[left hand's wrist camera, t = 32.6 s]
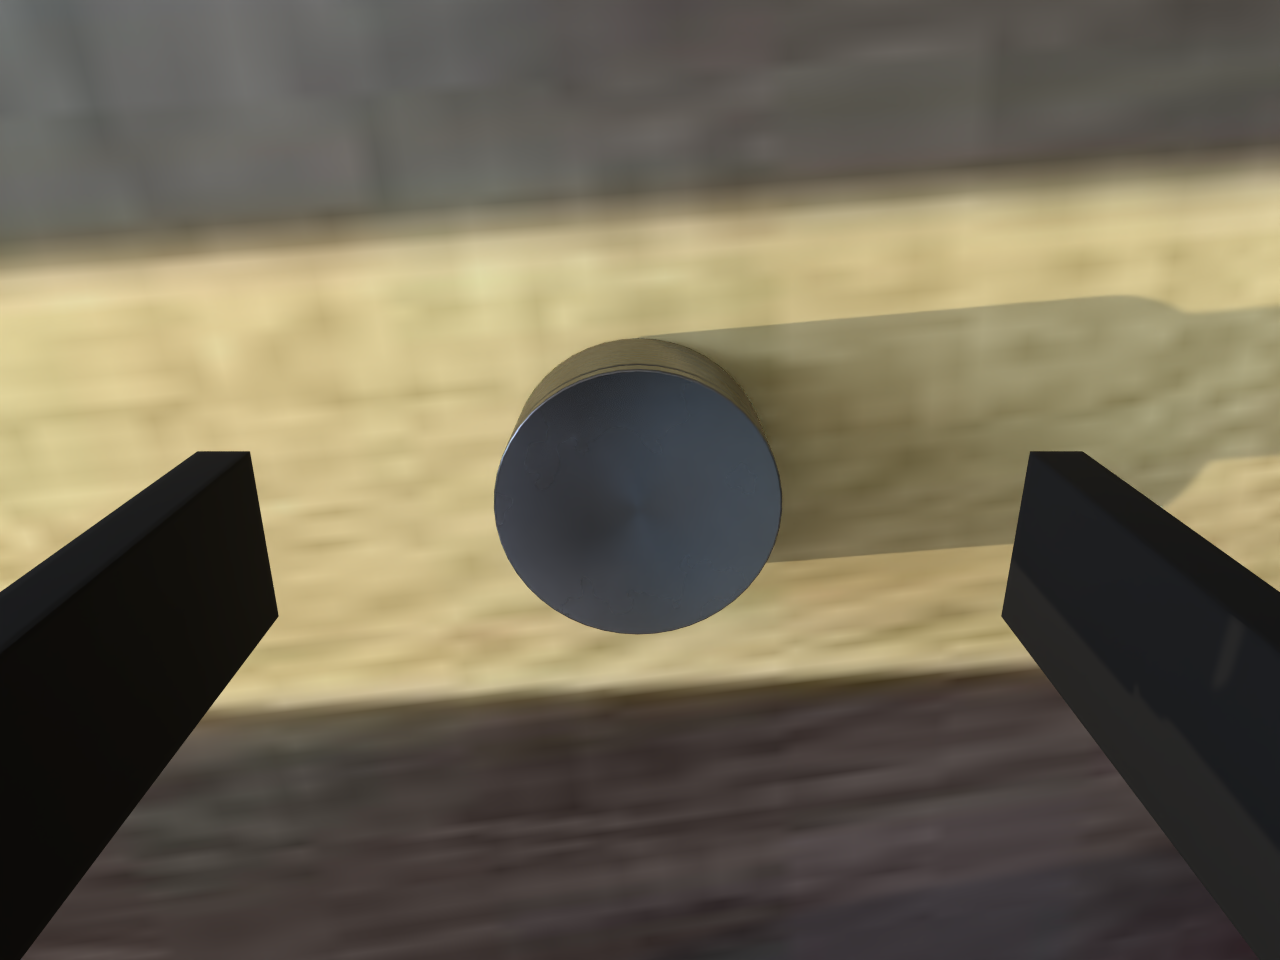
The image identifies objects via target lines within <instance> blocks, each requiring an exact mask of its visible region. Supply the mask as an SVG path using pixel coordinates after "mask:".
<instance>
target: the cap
mask: <svg viewBox="0 0 1280 960" xmlns="http://www.w3.org/2000/svg"><path fill="white" fill-rule="evenodd" d="M494 513H495V520H496V527H497V530H498V534H499V537H500V541H501V544H502V546H503V548H504V551H505V553H506V555H507V558H508V560H509V561H510V563H511V564H512V566H513V568H514V569H515V571H516V573H517V574H518V575H519V577H520V578H521V579H522V580H523V582H524V583H525V584H526V585H527V587H528V588H529V589H530V590H531V591H533V592H534V593H535V594H536V595H537V596H538V597H539V598H540V599H541V600H542V601H544V602H545V603H546V604H548V605H549V606H550V607H552V608H553V609H554V610H556V611H558V612H559V613H561V614H563V615H565V616H566V617H568V618H570V619H572V620H575V621H577V622H579V623H582V624H584V625H587V626H590V627H593V628H597V629H600V630H604V631H610V632H616V633H624V634H653V633H660V632H666V631H672V630H676V629H679V628H683V627H686V626H690V625H692V624H695V623H697V622H699V621H702V620H704V619H706V618H708V617H710V616H712V615H713V614H715V613H717V612H719V611H720V610H722V609H723V608H725V607H726V606H727V605H729V604H730V603H731V602H733V601H734V600H735V599H736V598H737V597H739V596H740V595H741V594H742V593H743V592H744V591H745V590H746V589H747V588H748V587H749V586H750V584H751V583H752V582H753V581H754V579H755V578H756V577H757V576H758V574H759V573H760V571H761V570H762V568H763V566H764V565H765V563H766V562H767V560H768V558H769V556H770V553H771V551H772V549H773V547H774V544H775V541H776V538H777V535H778V531H779V528H780V521H781V514H782V489H781V482H780V475H779V472H778V468H777V465H776V462H775V458H774V456H773V453H772V451H771V449H770V446H769V444H768V441H767V439H766V437H765V434H764V432H763V429H762V427H761V425H760V422H759V420H758V417H757V415H756V413H755V411H754V409H753V407H752V404H751V402H750V401H749V399H748V398H747V396H746V395H745V393H744V392H743V390H742V389H741V387H740V386H739V385H738V384H737V383H736V382H735V380H734V379H733V378H732V377H731V376H730V375H729V374H728V373H727V372H725V371H724V370H723V369H722V368H721V367H720V366H719V365H717V364H716V363H714V362H713V361H711V360H710V359H708V358H707V357H705V356H703V355H701V354H699V353H697V352H695V351H693V350H691V349H689V348H686V347H683V346H680V345H677V344H674V343H670V342H665V341H660V340H654V339H639V338H638V339H622V340H616V341H611V342H606V343H602V344H599V345H596V346H593V347H590V348H587V349H585V350H583V351H581V352H579V353H577V354H575V355H573V356H571V357H570V358H568V359H567V360H565V361H564V362H562V363H561V364H559V365H558V366H557V367H556V368H554V369H553V370H552V371H551V372H550V373H549V374H548V375H547V376H545V378H544V379H543V380H542V381H541V382H540V383H539V385H538V386H537V387H536V388H535V389H534V391H533V392H532V394H531V395H530V397H529V399H528V400H527V402H526V404H525V406H524V408H523V410H522V412H521V414H520V416H519V419H518V421H517V423H516V426H515V428H514V430H513V433H512V435H511V437H510V440H509V442H508V444H507V447H506V449H505V451H504V454H503V456H502V459H501V462H500V465H499V469H498V472H497V476H496V483H495V489H494Z"/></svg>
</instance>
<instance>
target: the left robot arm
mask: <svg viewBox="0 0 1280 960" xmlns="http://www.w3.org/2000/svg"><path fill="white" fill-rule="evenodd" d="M277 618H278V610H277V604H276V598H275V593H274V587H273V581H272V576H271V570H270V564H269V558H268V553H267V547H266V541H265V535H264V530H263V524H262V518H261V512H260V507H259V501H258V495H257V489H256V484H255V478H254V472H253V467H252V461H251V455H250V451H197V452H196V453H195V454H193V455H192V456H190V457H189V458H188V459H186V460H185V461H183V462H182V463H181V464H179V465H178V466H176V467H175V468H174V469H172V470H171V471H169V472H168V473H167V474H165V475H164V476H162V477H161V478H160V479H158V480H157V481H155V482H154V483H153V484H151V485H150V486H148V487H147V488H146V489H144V490H143V491H141V492H140V493H139V494H137V495H136V496H134V497H133V498H132V499H130V500H129V501H127V502H126V503H125V504H123V505H122V506H120V507H119V508H118V509H116V510H115V511H113V512H112V513H111V514H109V515H108V516H106V517H105V518H104V519H102V520H101V521H99V522H98V523H96V524H95V525H94V526H92V527H91V528H89V529H88V530H87V531H85V532H84V533H82V534H81V535H80V536H78V537H77V538H75V539H74V540H73V541H71V542H70V543H68V544H67V545H66V546H64V547H63V548H61V549H60V550H59V551H57V552H56V553H54V554H53V555H52V556H50V557H49V558H47V559H46V560H45V561H43V562H42V563H40V564H39V565H38V566H36V567H35V568H33V569H32V570H31V571H29V572H28V573H26V574H25V575H24V576H22V577H21V578H19V579H18V580H17V581H15V582H14V583H12V584H11V585H10V586H8V587H7V588H5V589H4V590H3V591H1V592H0V960H21V958H22V957H23V956H24V954H25V953H26V952H27V950H28V949H29V948H30V946H31V945H32V944H33V942H34V941H35V940H36V938H37V937H38V936H39V934H40V933H41V932H42V930H43V929H44V928H45V926H46V925H47V924H48V922H49V921H50V920H51V918H52V917H53V916H54V914H55V913H56V912H57V910H58V909H59V908H60V906H61V905H62V904H63V902H64V901H65V900H66V898H67V897H68V896H69V894H70V893H71V892H72V890H73V889H74V888H75V886H76V885H77V884H78V882H79V881H80V880H81V878H82V877H83V876H84V874H85V873H86V872H87V870H88V869H89V868H90V866H91V865H92V864H93V862H94V861H95V860H96V858H97V857H98V856H99V854H100V853H101V852H102V850H103V849H104V848H105V846H106V845H107V844H108V842H109V841H110V840H111V838H112V837H113V836H114V835H115V833H116V832H117V831H118V829H119V828H120V827H121V825H122V824H123V823H124V821H125V820H126V819H127V817H128V816H129V815H130V813H131V812H132V811H133V809H134V808H135V807H136V805H137V804H138V803H139V801H140V800H141V799H142V797H143V796H144V795H145V793H146V792H147V791H148V789H149V788H150V787H151V785H152V784H153V783H154V781H155V780H156V779H157V777H158V776H159V775H160V773H161V772H162V771H163V769H164V768H165V767H166V765H167V764H168V763H169V761H170V760H171V759H172V757H173V756H174V755H175V753H176V752H177V751H178V749H179V748H180V747H181V745H182V744H183V743H184V741H185V740H186V739H187V737H188V736H189V735H190V733H191V732H192V731H193V729H194V728H195V727H196V725H197V724H198V723H199V721H200V720H201V719H202V717H203V716H204V715H205V713H206V712H207V711H208V710H209V708H210V707H211V706H212V704H213V703H214V702H215V700H216V699H217V698H218V696H219V695H220V694H221V692H222V691H223V690H224V688H225V687H226V686H227V684H228V683H229V682H230V680H231V679H232V678H233V676H234V675H235V674H236V672H237V671H238V670H239V668H240V667H241V666H242V664H243V663H244V662H245V660H246V659H247V658H248V656H249V655H250V654H251V652H252V651H253V650H254V648H255V647H256V646H257V644H258V643H259V642H260V640H261V639H262V638H263V636H264V635H265V634H266V632H267V631H268V630H269V628H270V627H271V626H272V624H273V623H274V622H275V620H276V619H277ZM1002 618H1003V619H1004V620H1005V622H1006V623H1007V624H1008V626H1009V627H1010V628H1011V630H1012V631H1013V632H1014V634H1015V635H1016V636H1017V638H1018V639H1019V640H1020V642H1021V643H1022V644H1023V646H1024V647H1025V648H1026V650H1027V651H1028V652H1029V654H1030V655H1031V656H1032V658H1033V659H1034V660H1035V662H1036V663H1037V664H1038V666H1039V667H1040V668H1041V670H1042V671H1043V672H1044V674H1045V675H1046V676H1047V678H1048V679H1049V680H1050V682H1051V683H1052V684H1053V686H1054V687H1055V688H1056V690H1057V691H1058V692H1059V694H1060V695H1061V696H1062V698H1063V699H1064V700H1065V702H1066V703H1067V704H1068V706H1069V707H1070V708H1071V710H1072V711H1073V712H1074V714H1075V715H1076V716H1077V718H1078V719H1079V720H1080V721H1081V723H1082V724H1083V725H1084V727H1085V728H1086V729H1087V731H1088V732H1089V733H1090V735H1091V736H1092V737H1093V739H1094V740H1095V741H1096V743H1097V744H1098V745H1099V747H1100V748H1101V749H1102V751H1103V752H1104V753H1105V755H1106V756H1107V757H1108V759H1109V760H1110V761H1111V763H1112V764H1113V765H1114V767H1115V768H1116V769H1117V771H1118V772H1119V773H1120V775H1121V776H1122V777H1123V779H1124V780H1125V781H1126V783H1127V784H1128V785H1129V787H1130V788H1131V789H1132V791H1133V792H1134V793H1135V795H1136V796H1137V797H1138V799H1139V800H1140V801H1141V803H1142V804H1143V805H1144V807H1145V808H1146V809H1147V811H1148V812H1149V813H1150V815H1151V816H1152V817H1153V819H1154V820H1155V821H1156V823H1157V824H1158V825H1159V827H1160V828H1161V829H1162V831H1163V832H1164V833H1165V835H1166V836H1167V837H1168V839H1169V840H1170V841H1171V843H1172V844H1173V845H1174V847H1175V848H1176V849H1177V850H1178V852H1179V853H1180V854H1181V856H1182V857H1183V858H1184V860H1185V861H1186V862H1187V864H1188V865H1189V866H1190V868H1191V869H1192V870H1193V872H1194V873H1195V874H1196V876H1197V877H1198V878H1199V880H1200V881H1201V882H1202V884H1203V885H1204V886H1205V888H1206V889H1207V890H1208V892H1209V893H1210V894H1211V896H1212V897H1213V898H1214V900H1215V901H1216V902H1217V904H1218V905H1219V906H1220V908H1221V909H1222V910H1223V912H1224V913H1225V914H1226V916H1227V917H1228V918H1229V920H1230V921H1231V922H1232V924H1233V925H1234V926H1235V928H1236V929H1237V930H1238V932H1239V933H1240V934H1241V936H1242V937H1243V938H1244V940H1245V941H1246V942H1247V944H1248V945H1249V946H1250V948H1251V949H1252V950H1253V952H1254V953H1255V954H1256V956H1257V957H1258V958H1259V960H1280V592H1279V591H1277V590H1276V589H1275V588H1273V587H1272V586H1270V585H1269V584H1268V583H1266V582H1265V581H1263V580H1262V579H1261V578H1259V577H1258V576H1256V575H1255V574H1254V573H1252V572H1251V571H1249V570H1248V569H1247V568H1245V567H1244V566H1242V565H1241V564H1240V563H1238V562H1237V561H1235V560H1234V559H1233V558H1231V557H1230V556H1228V555H1227V554H1226V553H1224V552H1223V551H1221V550H1220V549H1219V548H1217V547H1216V546H1214V545H1213V544H1212V543H1210V542H1209V541H1207V540H1206V539H1205V538H1203V537H1202V536H1200V535H1199V534H1198V533H1196V532H1195V531H1193V530H1192V529H1190V528H1189V527H1188V526H1186V525H1185V524H1183V523H1182V522H1181V521H1179V520H1178V519H1176V518H1175V517H1174V516H1172V515H1171V514H1169V513H1168V512H1167V511H1165V510H1164V509H1162V508H1161V507H1160V506H1158V505H1157V504H1155V503H1154V502H1153V501H1151V500H1150V499H1148V498H1147V497H1146V496H1144V495H1143V494H1141V493H1140V492H1139V491H1137V490H1136V489H1134V488H1133V487H1132V486H1130V485H1129V484H1127V483H1126V482H1125V481H1123V480H1122V479H1120V478H1119V477H1118V476H1116V475H1115V474H1113V473H1112V472H1111V471H1109V470H1108V469H1106V468H1105V467H1104V466H1102V465H1101V464H1099V463H1098V462H1097V461H1095V460H1094V459H1092V458H1091V457H1090V456H1088V455H1087V454H1085V453H1084V452H1083V451H1030V455H1029V461H1028V466H1027V472H1026V478H1025V484H1024V489H1023V495H1022V501H1021V507H1020V512H1019V518H1018V524H1017V530H1016V535H1015V541H1014V547H1013V552H1012V558H1011V564H1010V570H1009V575H1008V581H1007V587H1006V593H1005V598H1004V604H1003V610H1002Z"/></svg>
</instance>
